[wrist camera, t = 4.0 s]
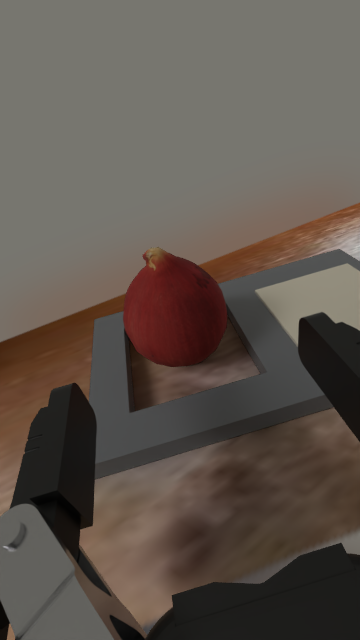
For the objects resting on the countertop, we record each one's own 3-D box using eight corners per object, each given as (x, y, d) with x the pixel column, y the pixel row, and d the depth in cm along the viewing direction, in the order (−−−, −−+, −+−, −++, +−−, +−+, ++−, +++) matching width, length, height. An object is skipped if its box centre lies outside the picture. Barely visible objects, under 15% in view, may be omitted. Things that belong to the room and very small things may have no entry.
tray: (94, 479, 15) (82, 464, 14) (100, 331, 24) (93, 317, 23) (483, 361, 15) (494, 341, 14) (337, 262, 25) (339, 246, 24)
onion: (185, 322, 23) (159, 218, 18) (251, 349, 19) (240, 227, 15) (127, 371, 20) (77, 263, 15) (191, 414, 16) (153, 289, 12)
